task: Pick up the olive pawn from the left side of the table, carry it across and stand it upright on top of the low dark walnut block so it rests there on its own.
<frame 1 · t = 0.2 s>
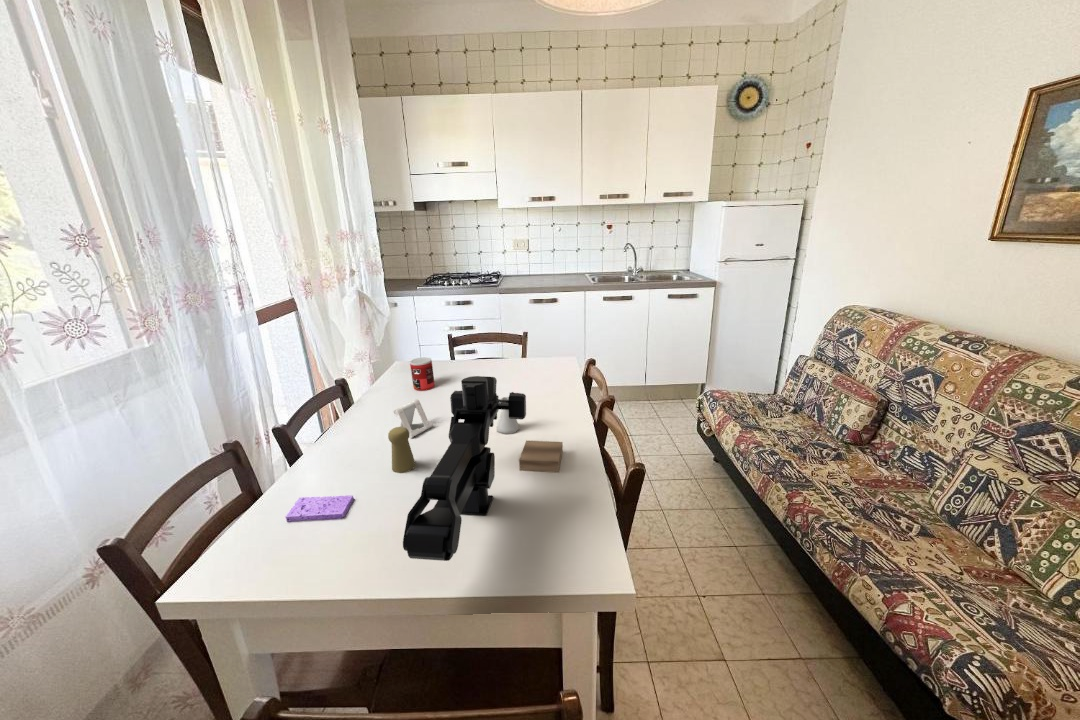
hand: (495, 393, 117), 17 cm above the table, tool horizontal, fingers open, 9 cm apart
walnut block: (541, 460, 115), on the table
sponges: (322, 512, 100), on the table
olive pawn: (403, 467, 115), on the table
flask: (508, 429, 133), on the table
portable electronic device stand: (414, 430, 135), on the table
canned food: (424, 387, 169), on the table
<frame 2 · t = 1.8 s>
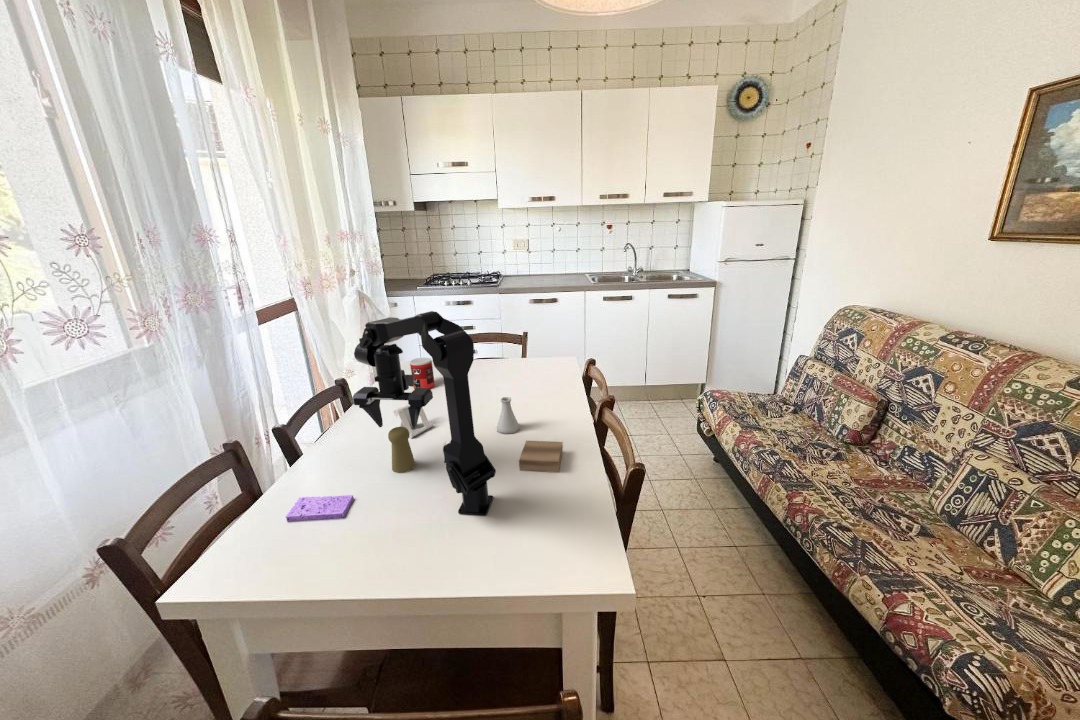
hand: (397, 427, 112), 12 cm above the table, tool pointing down, fingers open, 9 cm apart
nothing on the table moved.
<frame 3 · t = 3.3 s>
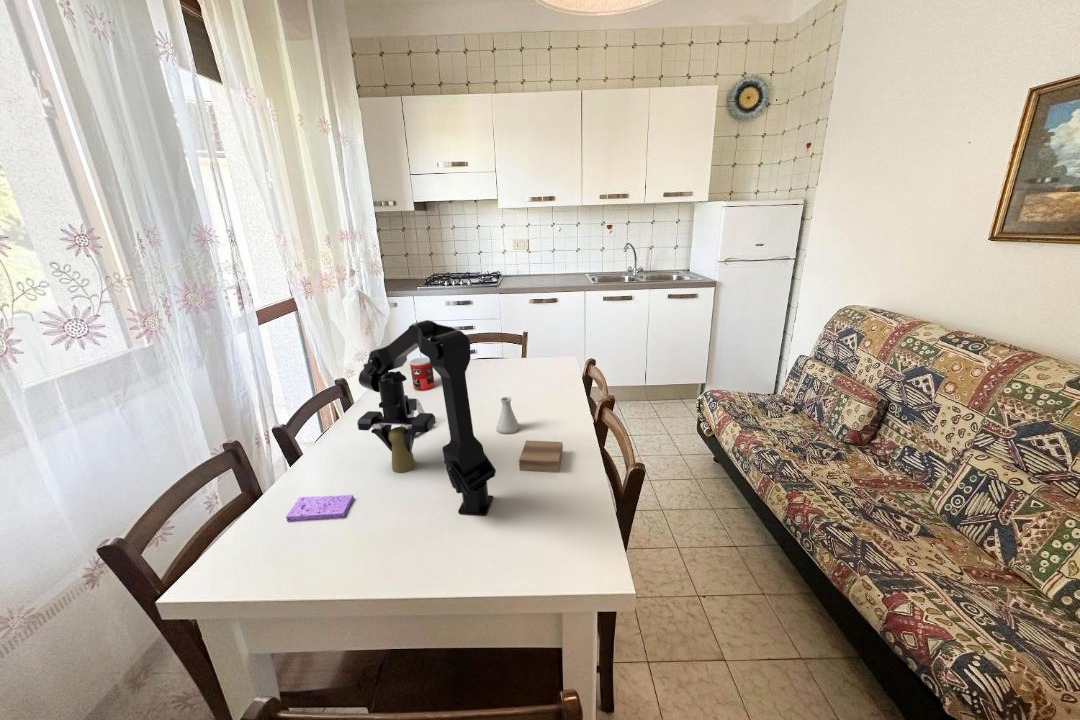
hand: (401, 450, 114), 5 cm above the table, tool pointing down, fingers closed on olive pawn, 4 cm apart
olive pawn: (403, 467, 115), on the table, touching gripper
everything else where it was.
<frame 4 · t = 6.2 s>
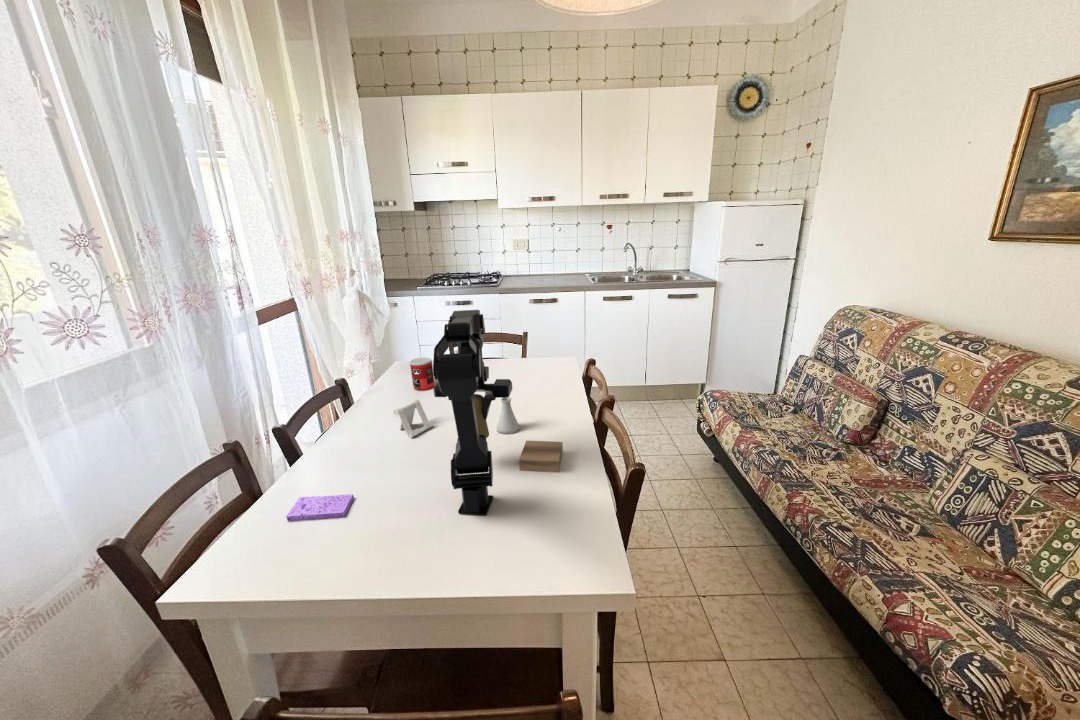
hand: (476, 419, 111), 13 cm above the table, tool pointing down, fingers closed on olive pawn, 4 cm apart
olive pawn: (477, 436, 113), point 8 cm above the table, touching gripper
everything else where it was.
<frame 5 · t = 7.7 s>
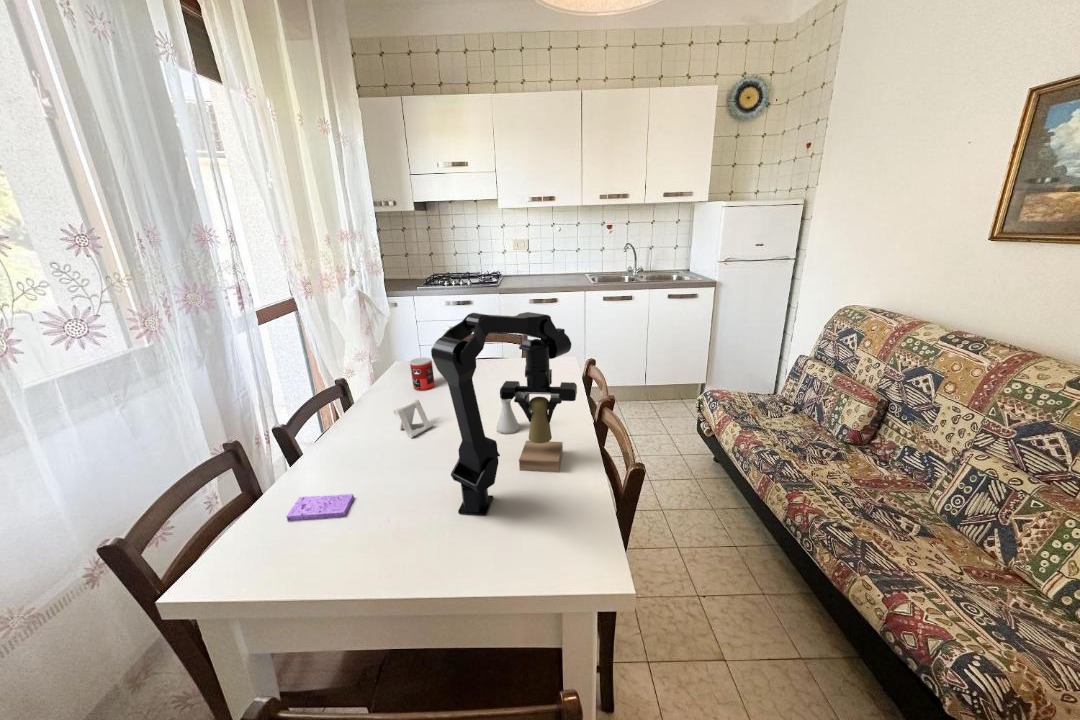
hand: (539, 421, 112), 11 cm above the table, tool pointing down, fingers closed on olive pawn, 4 cm apart
olive pawn: (540, 438, 113), point 7 cm above the table, touching gripper
everything else where it was.
when the fingers open (9 cm above the table, at t = 8.9 s): olive pawn drops 1 cm, resting on walnut block.
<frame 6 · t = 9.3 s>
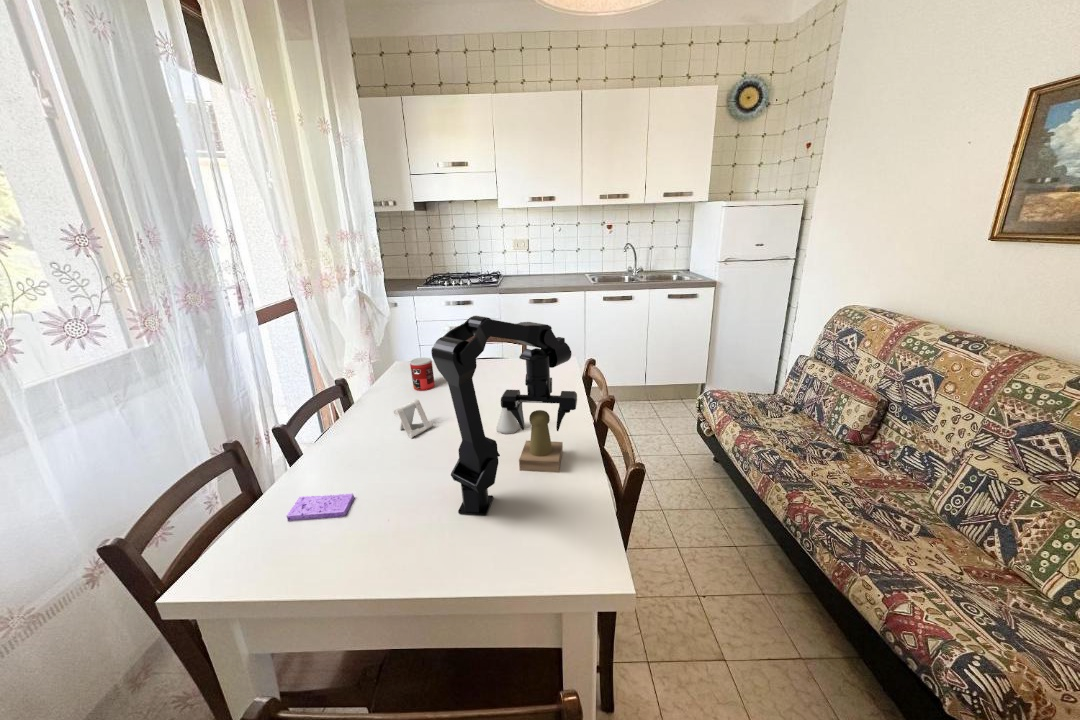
hand: (540, 429, 112), 9 cm above the table, tool pointing down, fingers open, 9 cm apart
olive pawn: (540, 451, 115), point 3 cm above the table, touching walnut block
everything else where it was.
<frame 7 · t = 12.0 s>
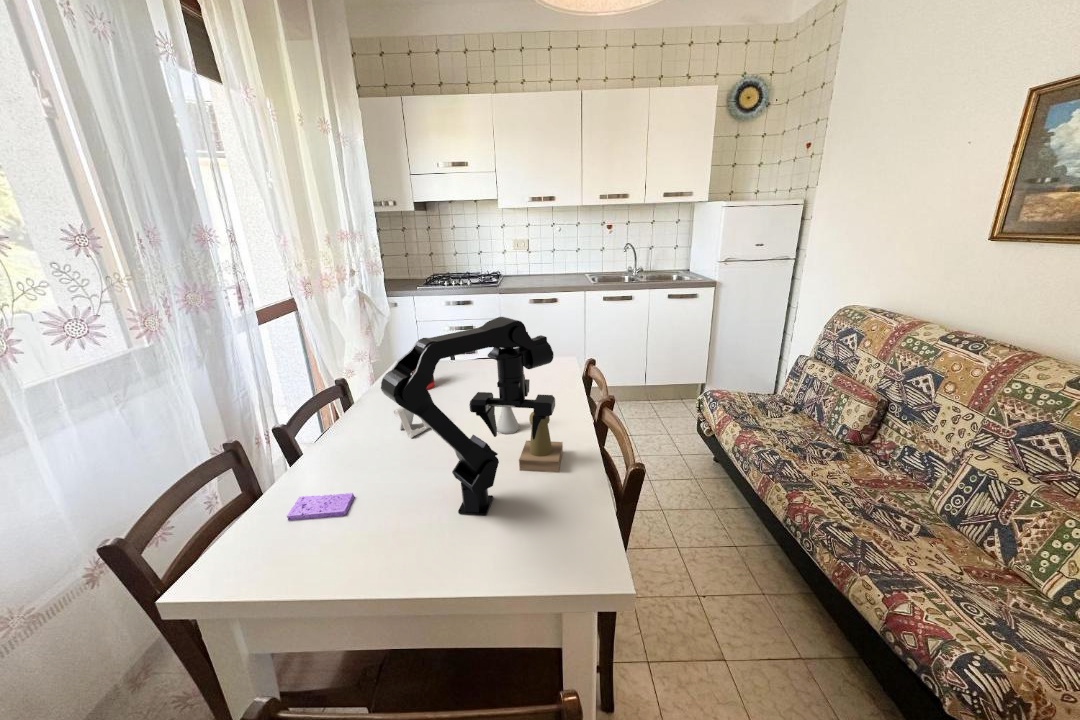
hand: (514, 437, 101), 13 cm above the table, tool pointing down, fingers open, 9 cm apart
nothing on the table moved.
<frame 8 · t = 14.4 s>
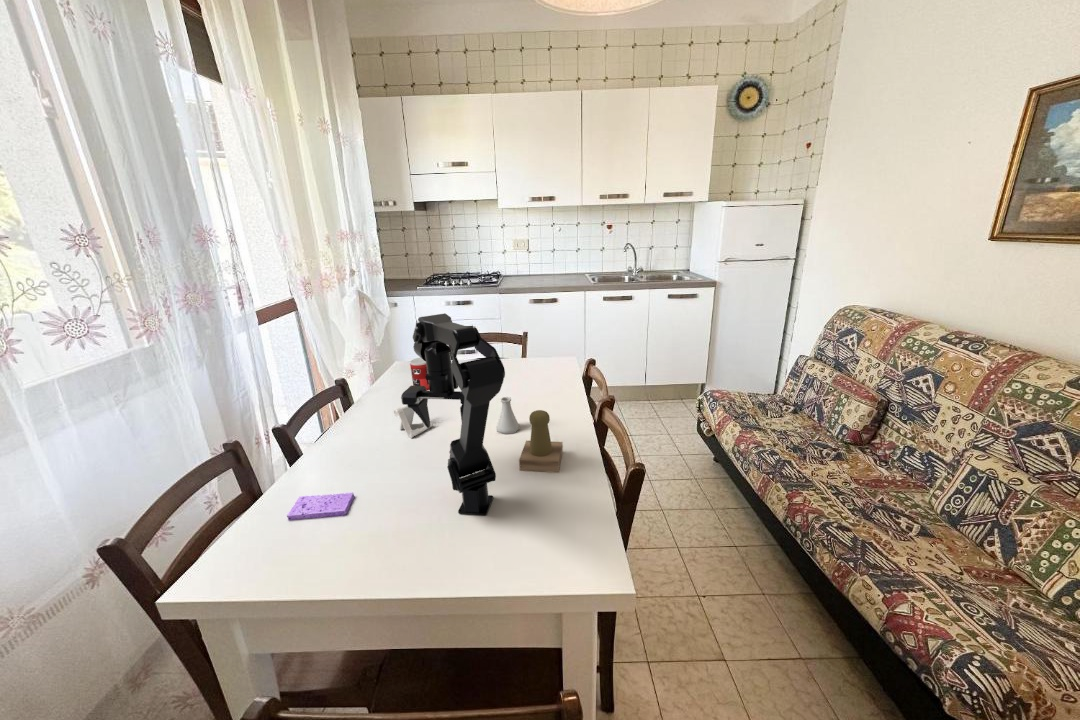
hand: (446, 427, 107), 13 cm above the table, tool pointing down, fingers open, 9 cm apart
nothing on the table moved.
at the end: olive pawn 0.2 cm off-centre on the walnut block, point 2.8 cm above the walnut block's base; olive pawn tilted 0°; olive pawn touching walnut block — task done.
